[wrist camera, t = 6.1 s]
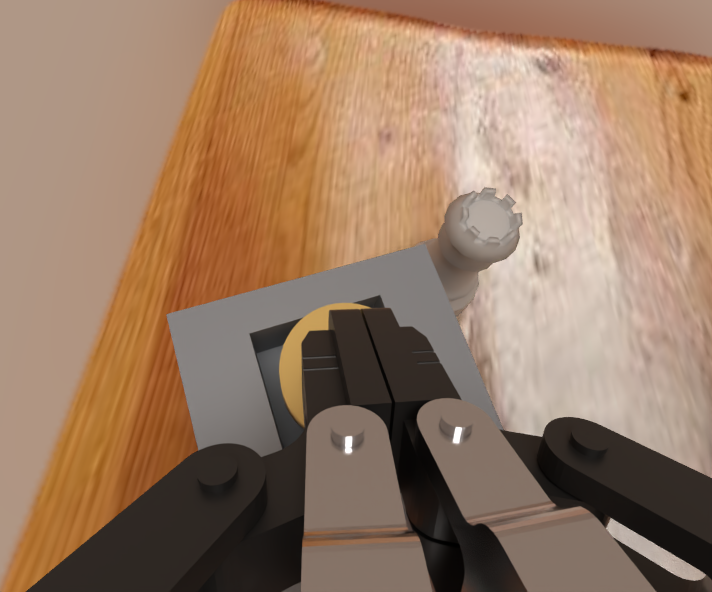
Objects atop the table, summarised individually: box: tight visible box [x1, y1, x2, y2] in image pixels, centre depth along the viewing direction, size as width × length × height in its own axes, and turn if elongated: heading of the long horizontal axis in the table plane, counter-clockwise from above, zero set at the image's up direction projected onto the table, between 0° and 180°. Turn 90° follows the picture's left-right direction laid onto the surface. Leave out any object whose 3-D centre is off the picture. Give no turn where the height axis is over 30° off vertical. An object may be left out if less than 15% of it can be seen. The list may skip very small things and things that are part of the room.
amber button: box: [279, 303, 370, 429], centre depth 15 cm, size 4×4×4 cm
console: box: [166, 244, 503, 592], centre depth 17 cm, size 10×18×7 cm, turn 19°
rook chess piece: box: [414, 187, 523, 316], centre depth 21 cm, size 4×4×8 cm
